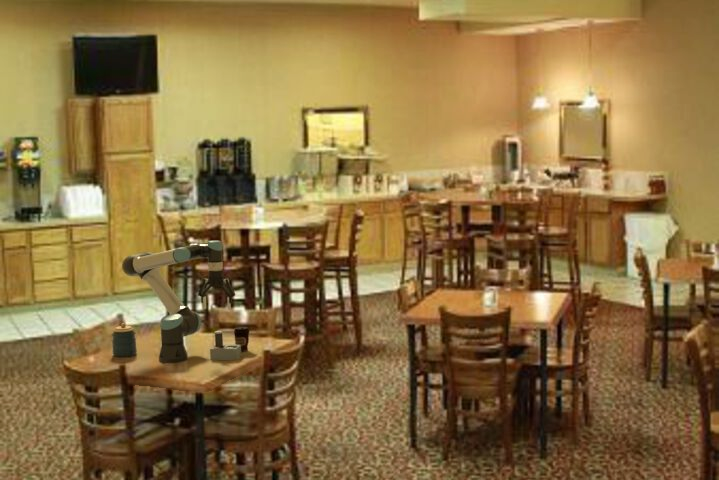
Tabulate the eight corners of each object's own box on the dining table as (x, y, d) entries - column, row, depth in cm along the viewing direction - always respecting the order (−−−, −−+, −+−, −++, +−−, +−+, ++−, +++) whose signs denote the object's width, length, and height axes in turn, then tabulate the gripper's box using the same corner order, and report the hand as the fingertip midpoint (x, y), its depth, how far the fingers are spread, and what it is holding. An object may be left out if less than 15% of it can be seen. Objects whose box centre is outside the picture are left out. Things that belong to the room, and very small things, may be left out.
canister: (107, 355, 550) (106, 323, 548) (128, 351, 560) (126, 319, 558) (121, 358, 541) (119, 326, 539) (141, 354, 551) (140, 322, 549)
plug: (214, 354, 536) (213, 332, 534) (216, 352, 540) (215, 330, 538) (222, 354, 535) (221, 332, 534) (224, 353, 539) (223, 330, 538)
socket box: (210, 359, 533) (209, 348, 533) (216, 355, 543) (215, 343, 542) (236, 360, 531) (235, 348, 530) (241, 355, 541) (240, 344, 540)
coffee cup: (247, 353, 547) (246, 329, 546) (232, 352, 549) (231, 329, 547) (251, 349, 556) (251, 326, 554) (237, 349, 557) (236, 326, 556)
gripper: (190, 270, 533) (192, 310, 535) (236, 271, 528) (237, 310, 531) (195, 268, 540) (197, 307, 543) (240, 269, 535) (241, 308, 538)
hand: (217, 309), depth 537 cm, fingers open, 13 cm apart
